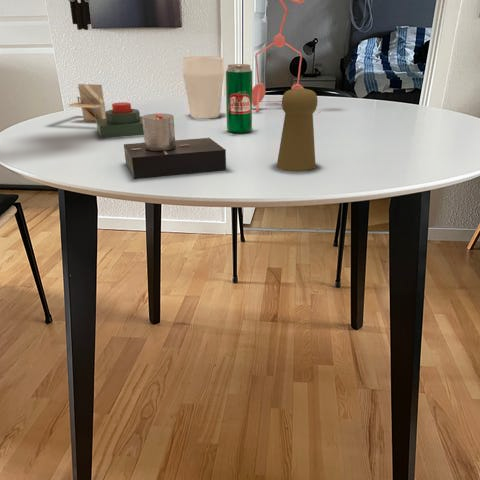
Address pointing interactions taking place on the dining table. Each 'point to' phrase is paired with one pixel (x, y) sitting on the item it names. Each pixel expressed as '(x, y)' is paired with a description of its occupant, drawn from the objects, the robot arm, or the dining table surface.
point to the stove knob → (159, 132)
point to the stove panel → (175, 158)
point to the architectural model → (90, 102)
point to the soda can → (239, 98)
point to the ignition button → (121, 107)
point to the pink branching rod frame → (258, 89)
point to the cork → (298, 131)
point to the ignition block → (120, 124)
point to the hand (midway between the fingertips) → (82, 29)
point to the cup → (203, 85)
